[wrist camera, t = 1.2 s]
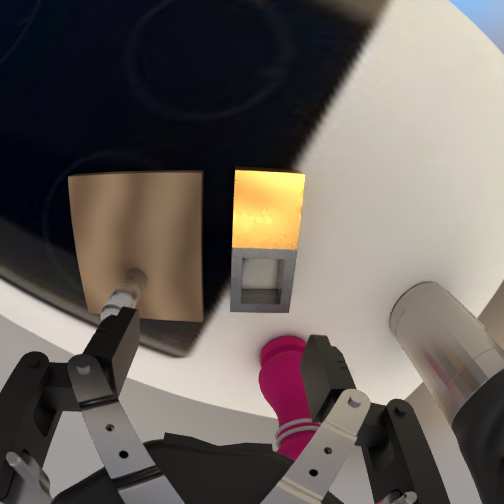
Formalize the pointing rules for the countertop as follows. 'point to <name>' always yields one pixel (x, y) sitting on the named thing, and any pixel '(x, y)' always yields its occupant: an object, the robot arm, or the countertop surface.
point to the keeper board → (141, 238)
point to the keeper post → (126, 293)
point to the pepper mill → (287, 394)
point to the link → (265, 233)
